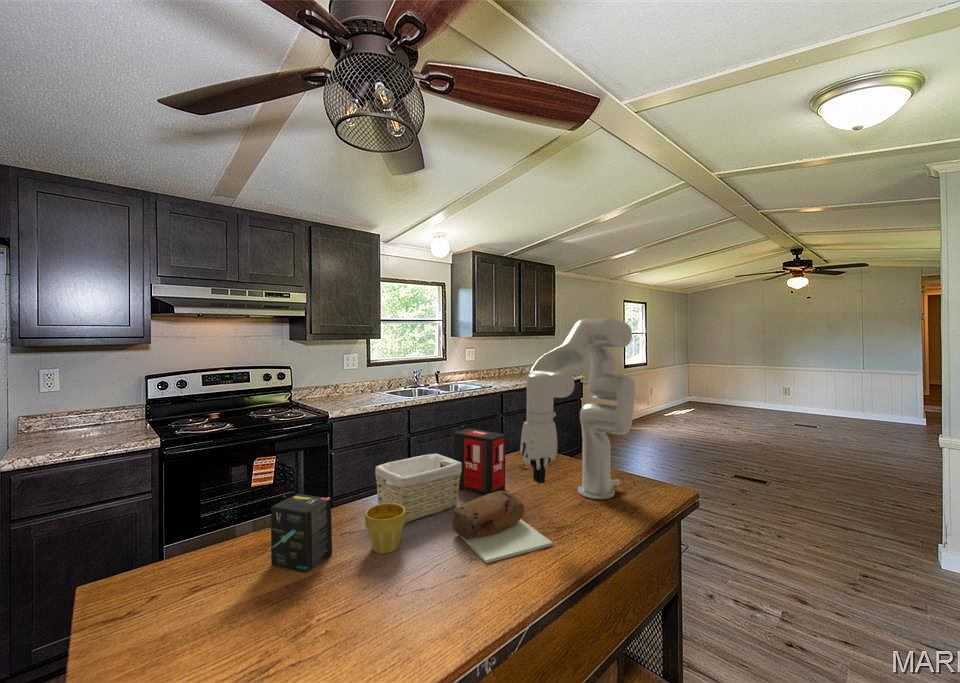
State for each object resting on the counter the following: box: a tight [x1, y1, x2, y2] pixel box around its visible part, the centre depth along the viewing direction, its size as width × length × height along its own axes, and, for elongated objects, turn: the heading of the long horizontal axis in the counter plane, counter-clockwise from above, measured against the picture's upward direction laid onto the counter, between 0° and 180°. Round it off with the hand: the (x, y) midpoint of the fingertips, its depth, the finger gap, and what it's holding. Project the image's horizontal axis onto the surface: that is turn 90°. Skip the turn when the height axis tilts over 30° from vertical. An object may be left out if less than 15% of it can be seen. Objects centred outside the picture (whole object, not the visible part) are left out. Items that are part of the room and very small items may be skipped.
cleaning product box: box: [453, 428, 506, 496], centre depth 155 cm, size 16×9×20 cm, turn 55°
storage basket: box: [374, 453, 462, 524], centre depth 137 cm, size 24×16×15 cm
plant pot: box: [364, 503, 406, 554], centre depth 112 cm, size 10×10×10 cm
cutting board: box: [457, 518, 553, 564], centre depth 117 cm, size 20×17×1 cm
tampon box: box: [270, 493, 333, 574], centre depth 106 cm, size 11×9×15 cm
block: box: [451, 490, 525, 539], centre depth 123 cm, size 11×8×20 cm
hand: (539, 481), depth 122 cm, fingers closed
